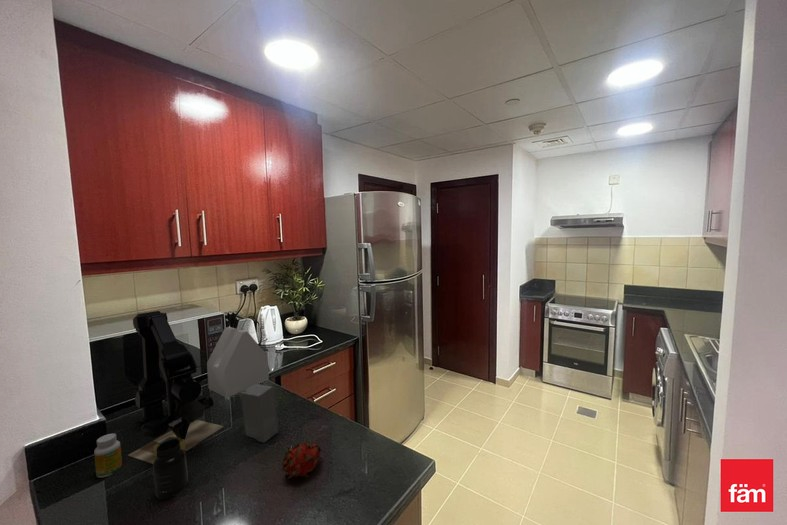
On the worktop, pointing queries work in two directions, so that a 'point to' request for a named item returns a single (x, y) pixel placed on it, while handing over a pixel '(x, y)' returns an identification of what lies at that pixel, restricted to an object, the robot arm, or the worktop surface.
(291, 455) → the dragon fruit
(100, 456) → the supplement bottle
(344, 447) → the worktop surface
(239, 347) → the milk carton
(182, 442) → the stud finder
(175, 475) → the supplement bottle
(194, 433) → the plywood board
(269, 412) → the skincare box
